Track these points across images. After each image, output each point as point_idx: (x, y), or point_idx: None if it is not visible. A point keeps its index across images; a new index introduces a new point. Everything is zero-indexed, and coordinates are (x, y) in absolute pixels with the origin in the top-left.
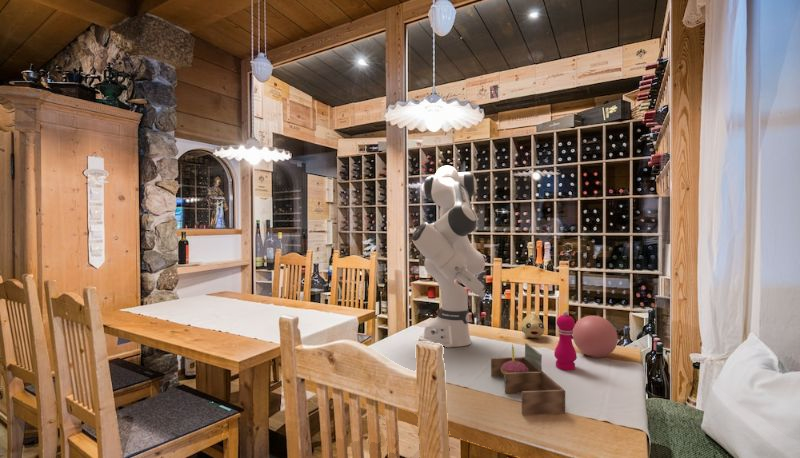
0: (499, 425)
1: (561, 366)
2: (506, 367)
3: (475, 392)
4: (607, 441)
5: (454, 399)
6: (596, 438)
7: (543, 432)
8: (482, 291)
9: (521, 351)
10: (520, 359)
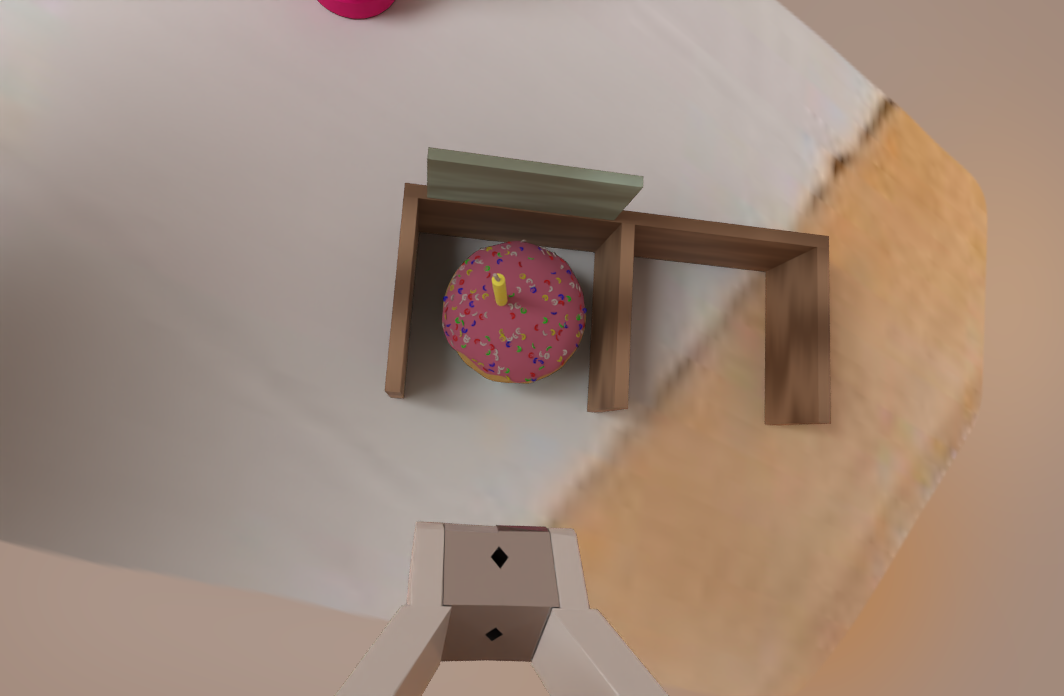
0: (836, 545)
1: (379, 4)
2: (538, 363)
3: None
4: (941, 244)
5: None
6: (926, 265)
7: (886, 410)
8: (582, 592)
9: (44, 51)
10: (416, 222)
